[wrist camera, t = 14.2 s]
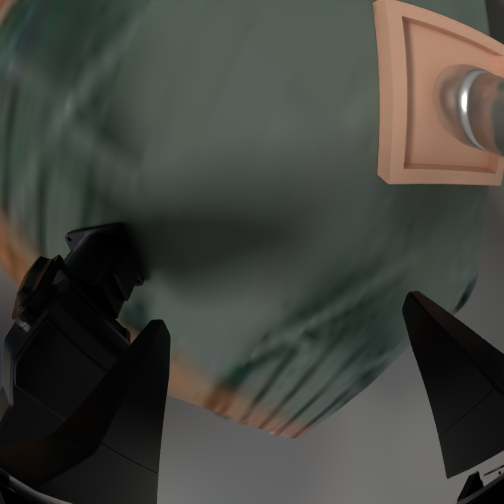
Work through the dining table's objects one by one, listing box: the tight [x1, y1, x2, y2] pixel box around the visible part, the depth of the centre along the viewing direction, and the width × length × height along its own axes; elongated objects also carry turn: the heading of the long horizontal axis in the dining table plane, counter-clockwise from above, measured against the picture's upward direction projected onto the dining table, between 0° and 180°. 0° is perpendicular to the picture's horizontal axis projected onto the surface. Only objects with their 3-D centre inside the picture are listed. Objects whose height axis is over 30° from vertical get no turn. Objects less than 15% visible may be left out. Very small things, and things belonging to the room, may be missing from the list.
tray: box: [372, 0, 504, 186], centre depth 15 cm, size 14×14×2 cm
